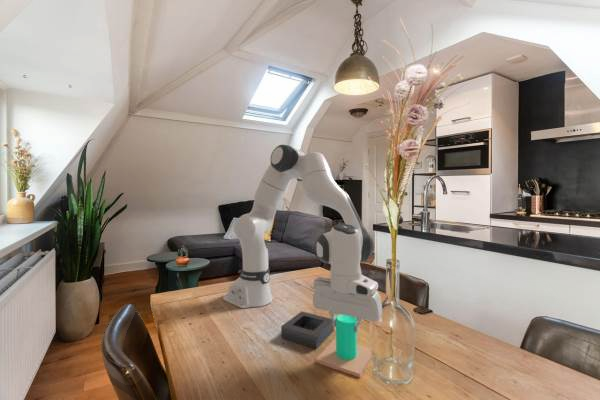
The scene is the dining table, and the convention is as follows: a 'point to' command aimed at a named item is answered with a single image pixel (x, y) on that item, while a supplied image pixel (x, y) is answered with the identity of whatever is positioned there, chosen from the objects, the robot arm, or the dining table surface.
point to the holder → (304, 336)
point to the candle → (346, 337)
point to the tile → (347, 366)
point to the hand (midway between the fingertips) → (346, 328)
